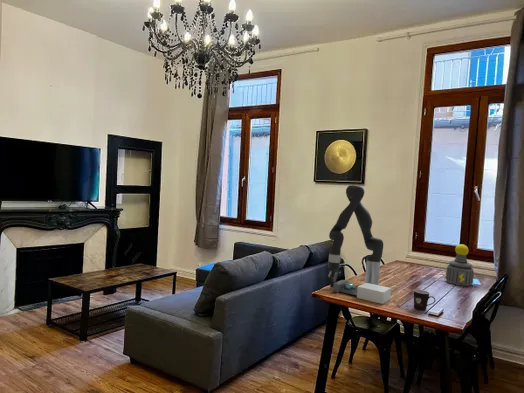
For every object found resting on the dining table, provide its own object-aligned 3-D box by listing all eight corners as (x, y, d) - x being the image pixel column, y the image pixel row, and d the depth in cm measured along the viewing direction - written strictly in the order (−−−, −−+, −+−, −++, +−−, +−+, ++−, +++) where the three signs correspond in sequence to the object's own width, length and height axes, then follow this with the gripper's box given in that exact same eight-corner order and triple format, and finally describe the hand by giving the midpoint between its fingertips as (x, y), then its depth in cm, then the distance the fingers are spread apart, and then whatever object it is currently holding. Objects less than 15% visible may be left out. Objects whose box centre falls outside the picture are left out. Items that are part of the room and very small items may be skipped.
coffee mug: (408, 306, 223) (410, 289, 222) (420, 305, 226) (421, 289, 225) (423, 313, 212) (425, 295, 212) (435, 312, 215) (437, 295, 215)
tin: (345, 288, 247) (345, 282, 247) (354, 289, 245) (354, 283, 245) (343, 290, 242) (343, 284, 242) (352, 292, 239) (352, 285, 239)
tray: (341, 287, 254) (342, 279, 253) (368, 293, 243) (369, 285, 243) (332, 291, 242) (333, 283, 242) (360, 298, 232) (361, 289, 231)
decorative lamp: (447, 284, 287) (451, 244, 286) (443, 278, 305) (446, 241, 304) (475, 287, 281) (479, 247, 280) (469, 281, 299) (473, 244, 298)
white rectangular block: (364, 293, 244) (365, 282, 244) (389, 299, 235) (390, 288, 235) (356, 297, 233) (357, 286, 233) (382, 304, 224) (383, 292, 224)
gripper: (333, 258, 257) (331, 284, 258) (324, 261, 246) (322, 287, 247) (343, 260, 253) (341, 286, 253) (335, 263, 242) (333, 290, 243)
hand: (332, 287), depth 250 cm, fingers closed
